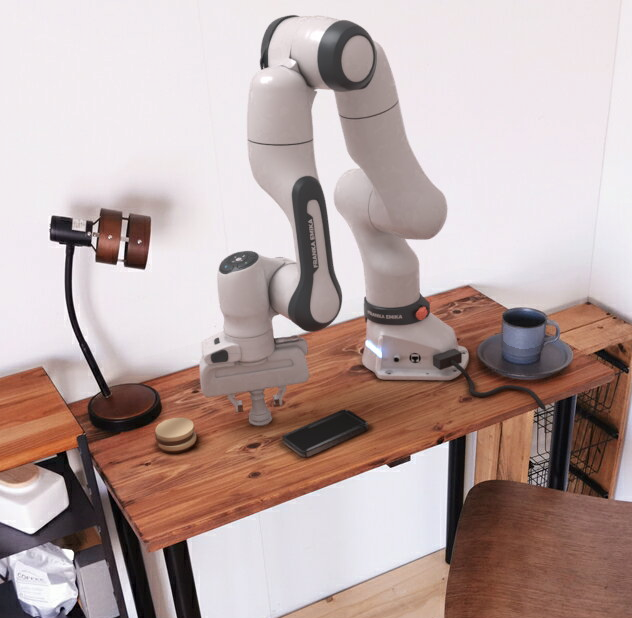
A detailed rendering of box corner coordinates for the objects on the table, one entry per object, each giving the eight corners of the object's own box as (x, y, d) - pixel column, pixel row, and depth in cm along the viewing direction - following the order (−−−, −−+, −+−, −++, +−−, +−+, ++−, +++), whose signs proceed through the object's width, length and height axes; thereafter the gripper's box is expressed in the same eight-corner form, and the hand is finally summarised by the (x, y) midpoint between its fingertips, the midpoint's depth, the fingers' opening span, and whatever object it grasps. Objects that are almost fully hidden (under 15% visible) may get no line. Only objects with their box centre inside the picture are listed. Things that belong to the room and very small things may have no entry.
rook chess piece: (268, 428, 172) (263, 391, 167) (246, 426, 172) (240, 389, 168) (275, 415, 175) (270, 379, 171) (253, 414, 176) (248, 378, 172)
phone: (370, 423, 169) (303, 453, 161) (370, 429, 169) (304, 458, 162) (345, 407, 174) (279, 435, 167) (345, 412, 175) (280, 440, 167)
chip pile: (204, 435, 170) (202, 419, 169) (186, 457, 165) (183, 440, 163) (169, 430, 173) (165, 414, 171) (149, 452, 167) (145, 435, 165)
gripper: (303, 326, 169) (309, 391, 177) (193, 342, 166) (204, 408, 173) (309, 341, 164) (315, 407, 171) (195, 358, 160) (207, 424, 168)
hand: (258, 407), depth 172 cm, fingers open, 6 cm apart
